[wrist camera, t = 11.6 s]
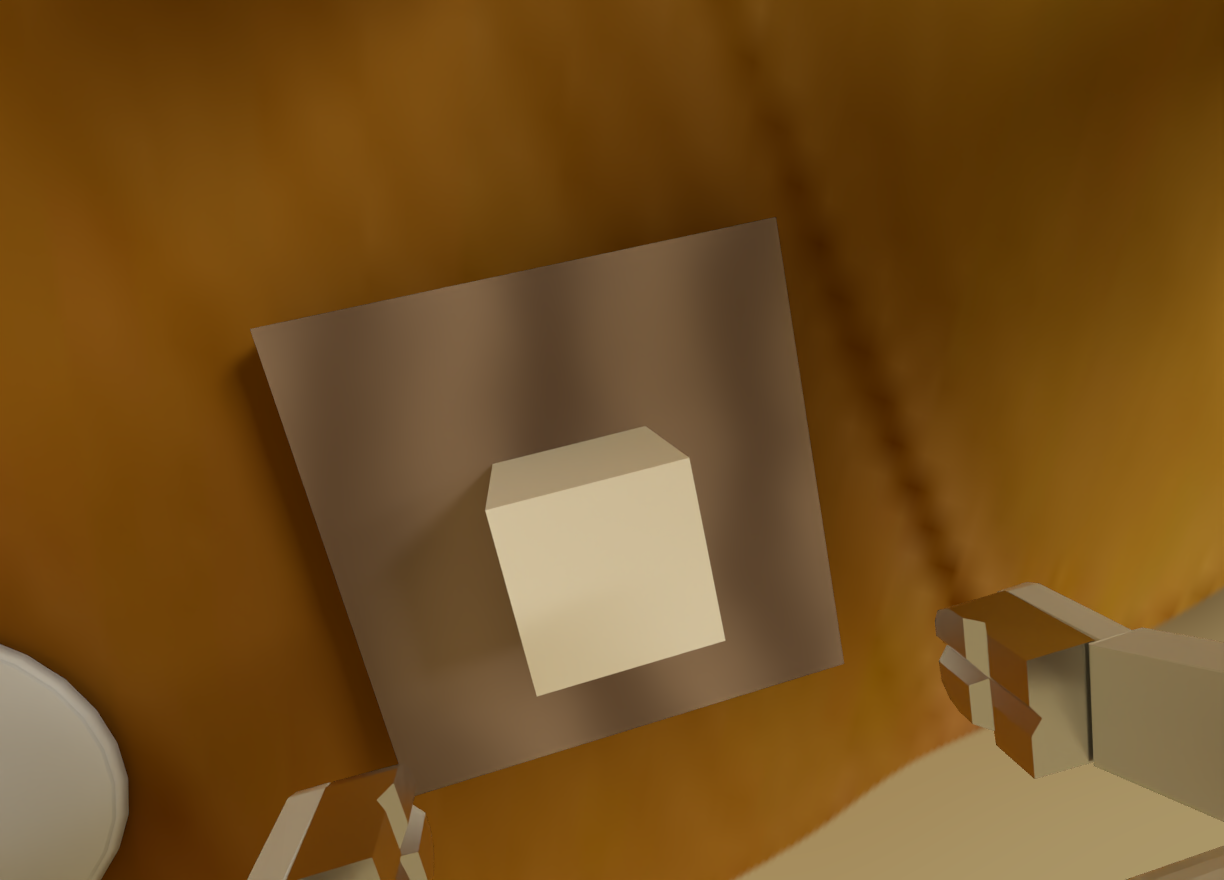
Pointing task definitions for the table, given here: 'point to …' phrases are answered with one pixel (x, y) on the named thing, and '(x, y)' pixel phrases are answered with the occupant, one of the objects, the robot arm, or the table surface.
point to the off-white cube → (603, 556)
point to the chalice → (55, 778)
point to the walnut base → (539, 421)
